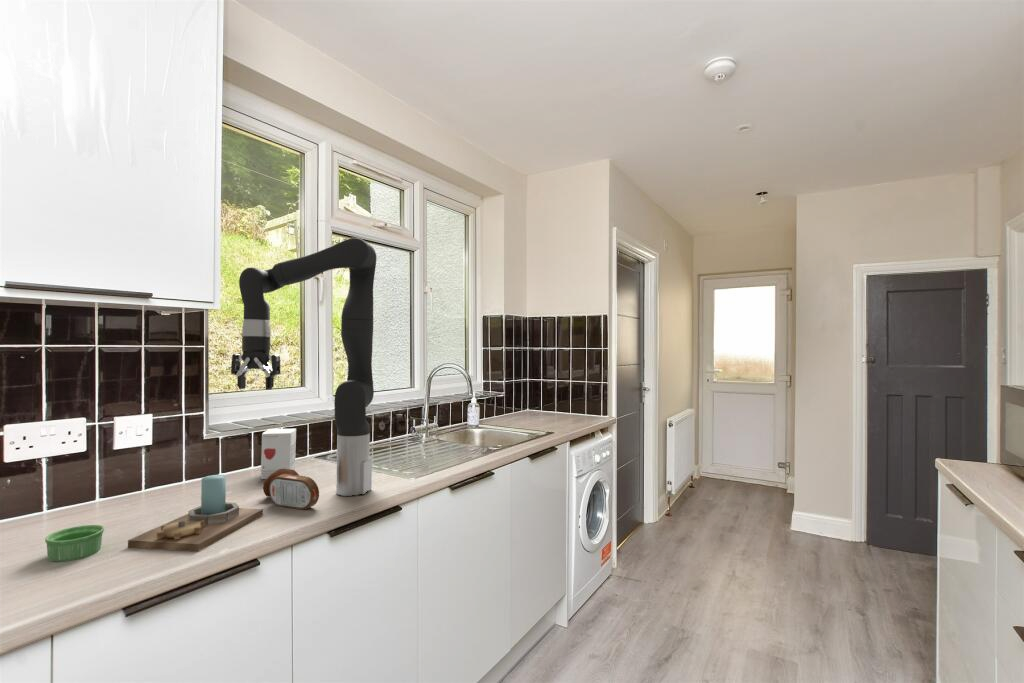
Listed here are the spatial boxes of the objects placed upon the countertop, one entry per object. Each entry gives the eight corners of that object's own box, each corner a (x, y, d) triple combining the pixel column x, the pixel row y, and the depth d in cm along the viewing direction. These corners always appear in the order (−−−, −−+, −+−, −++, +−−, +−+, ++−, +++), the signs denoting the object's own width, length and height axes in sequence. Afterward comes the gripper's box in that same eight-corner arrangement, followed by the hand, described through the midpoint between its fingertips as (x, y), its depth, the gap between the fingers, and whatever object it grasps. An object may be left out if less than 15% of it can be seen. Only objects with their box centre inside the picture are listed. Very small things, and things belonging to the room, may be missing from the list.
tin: (319, 508, 128) (320, 476, 128) (311, 512, 125) (311, 480, 125) (275, 502, 133) (276, 471, 133) (266, 505, 130) (266, 474, 130)
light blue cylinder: (230, 513, 118) (230, 475, 118) (215, 521, 113) (216, 480, 113) (210, 512, 119) (211, 474, 119) (195, 520, 114) (196, 479, 114)
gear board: (262, 515, 122) (263, 499, 122) (198, 551, 100) (198, 532, 100) (204, 512, 124) (204, 496, 124) (127, 547, 102) (128, 528, 102)
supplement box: (259, 480, 154) (260, 433, 155) (267, 472, 163) (267, 428, 163) (290, 478, 156) (291, 432, 157) (295, 471, 165) (296, 428, 165)
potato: (309, 492, 142) (309, 465, 142) (276, 503, 132) (276, 474, 132) (290, 488, 145) (291, 462, 145) (256, 499, 135) (257, 471, 135)
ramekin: (35, 566, 93) (35, 544, 93) (57, 548, 101) (57, 527, 101) (93, 559, 96) (94, 537, 96) (110, 542, 105) (110, 522, 105)
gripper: (225, 334, 141) (224, 389, 141) (271, 335, 140) (270, 390, 140) (242, 335, 149) (241, 387, 149) (286, 335, 147) (285, 388, 147)
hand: (255, 389), depth 144 cm, fingers open, 8 cm apart
